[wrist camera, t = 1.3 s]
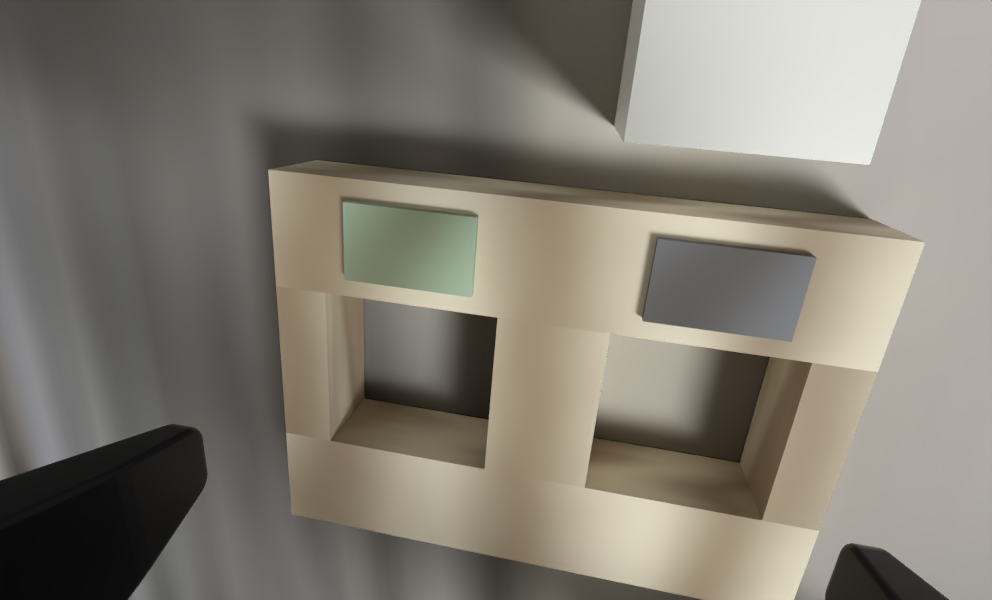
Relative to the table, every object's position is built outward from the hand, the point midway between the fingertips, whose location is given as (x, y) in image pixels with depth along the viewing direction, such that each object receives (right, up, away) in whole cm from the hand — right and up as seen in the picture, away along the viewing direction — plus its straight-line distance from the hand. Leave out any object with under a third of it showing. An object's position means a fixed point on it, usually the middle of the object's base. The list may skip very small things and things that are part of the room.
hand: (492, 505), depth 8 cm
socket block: (+2, 0, +12) cm, 13 cm away
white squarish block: (+6, +10, +8) cm, 14 cm away
